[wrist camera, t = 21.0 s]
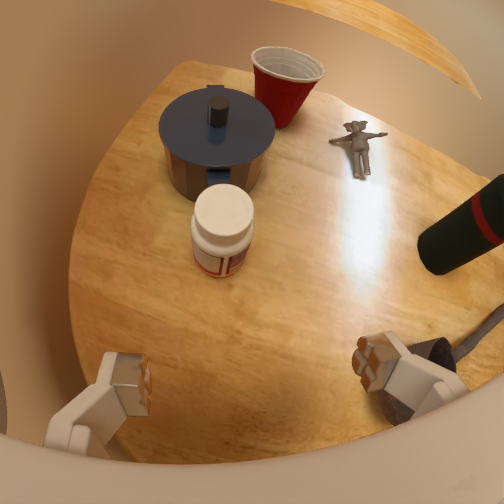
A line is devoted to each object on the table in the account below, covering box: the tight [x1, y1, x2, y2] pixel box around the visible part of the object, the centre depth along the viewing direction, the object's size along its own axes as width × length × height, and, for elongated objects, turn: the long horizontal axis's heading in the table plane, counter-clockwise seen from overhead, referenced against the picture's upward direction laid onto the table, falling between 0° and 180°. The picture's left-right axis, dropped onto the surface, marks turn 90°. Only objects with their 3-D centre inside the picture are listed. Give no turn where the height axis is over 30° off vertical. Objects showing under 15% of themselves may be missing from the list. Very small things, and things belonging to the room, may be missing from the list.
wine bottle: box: [417, 174, 504, 275], centre depth 27 cm, size 8×10×30 cm
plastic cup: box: [251, 46, 325, 128], centre depth 39 cm, size 11×11×12 cm
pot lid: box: [159, 88, 275, 169], centre depth 30 cm, size 14×14×4 cm
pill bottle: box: [191, 184, 254, 277], centre depth 30 cm, size 6×6×11 cm
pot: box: [164, 85, 266, 202], centre depth 36 cm, size 13×18×8 cm
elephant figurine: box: [329, 121, 388, 177], centre depth 42 cm, size 10×6×9 cm
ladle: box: [379, 304, 504, 426], centre depth 34 cm, size 12×38×10 cm, turn 107°
